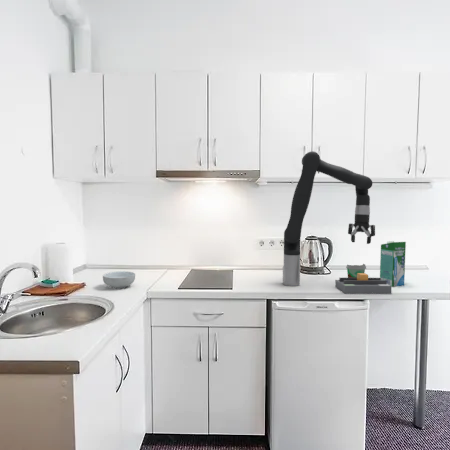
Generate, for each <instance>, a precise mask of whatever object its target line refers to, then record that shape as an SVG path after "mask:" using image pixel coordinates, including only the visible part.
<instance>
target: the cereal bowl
mask: <svg viewBox="0 0 450 450" xmlns="http://www.w3.org/2000/svg"><path fill="white" fill-rule="evenodd" d="M135 279H136V273H135V272H134V271H125V270H124V271H121V270H120V271H119V270H118V271H110V272H107V273H104V274H103V275H102V281H103V283H104V284H105V285H106V286H108V287H111V288H112V289H116V290H117V289H124V288H127V287H128V286H130V285H132V284H133V283H134V282H135Z"/></svg>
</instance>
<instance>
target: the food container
mask: <svg viewBox="0 0 450 450" xmlns="http://www.w3.org/2000/svg"><path fill="white" fill-rule="evenodd" d="M345 268H346V270H347V278H357V273H365V270H366V269H367V266H366V264H364V263H363V264H362V265H357V264H353V265H352V264H351V265H350V264H347V265H346V267H345Z"/></svg>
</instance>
